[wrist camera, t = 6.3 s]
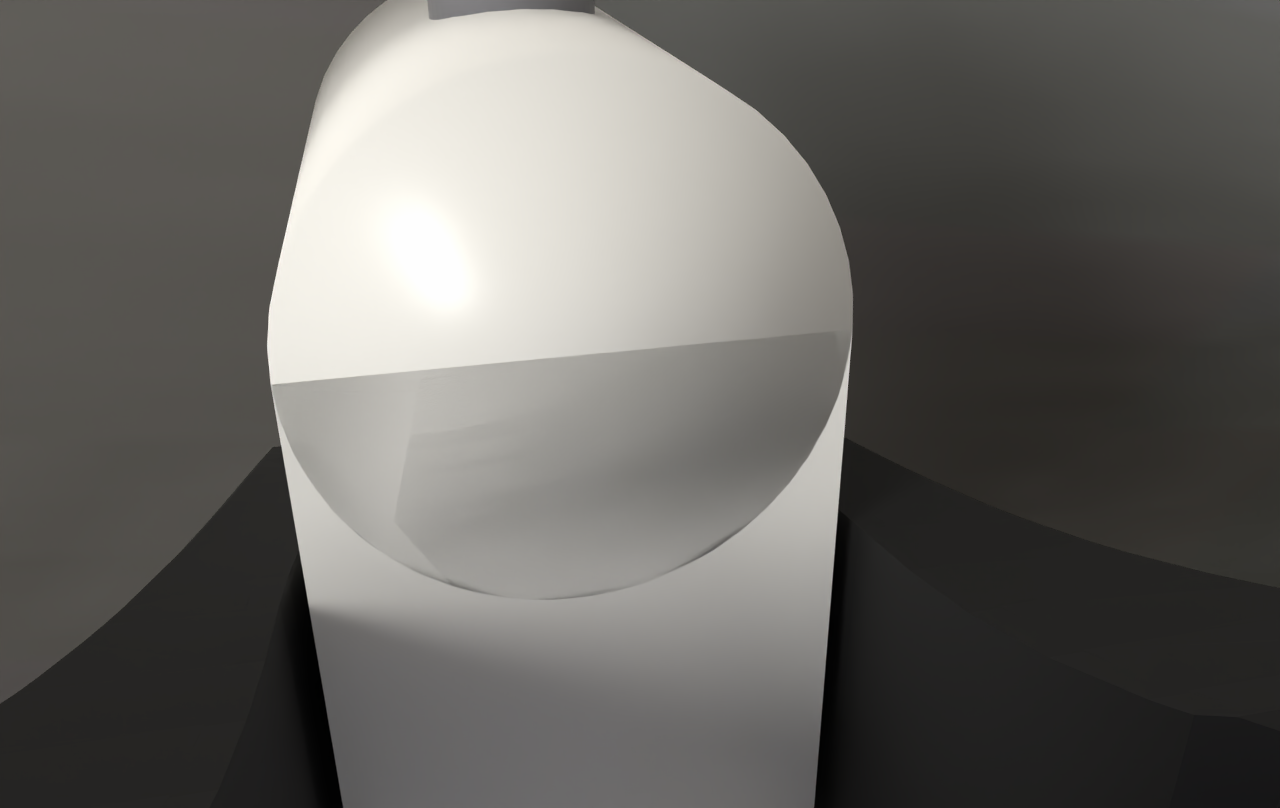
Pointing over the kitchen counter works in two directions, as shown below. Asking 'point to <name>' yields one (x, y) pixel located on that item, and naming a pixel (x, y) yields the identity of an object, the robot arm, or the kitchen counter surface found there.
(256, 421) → the kitchen counter surface
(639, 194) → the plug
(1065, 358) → the kitchen counter surface
